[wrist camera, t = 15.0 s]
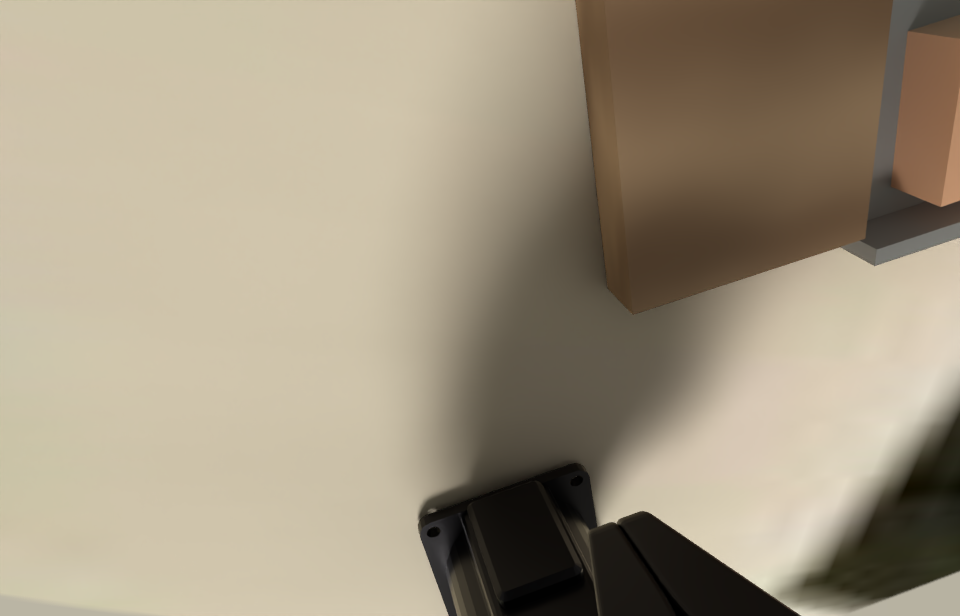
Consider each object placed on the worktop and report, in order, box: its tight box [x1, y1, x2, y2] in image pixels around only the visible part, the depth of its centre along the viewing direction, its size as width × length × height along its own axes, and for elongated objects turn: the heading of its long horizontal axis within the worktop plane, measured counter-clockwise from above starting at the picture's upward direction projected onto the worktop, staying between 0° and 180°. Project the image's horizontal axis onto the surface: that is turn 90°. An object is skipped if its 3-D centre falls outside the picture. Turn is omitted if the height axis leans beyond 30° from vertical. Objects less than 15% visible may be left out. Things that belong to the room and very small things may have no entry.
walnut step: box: [575, 0, 893, 315], centre depth 18 cm, size 14×8×2 cm, turn 12°
